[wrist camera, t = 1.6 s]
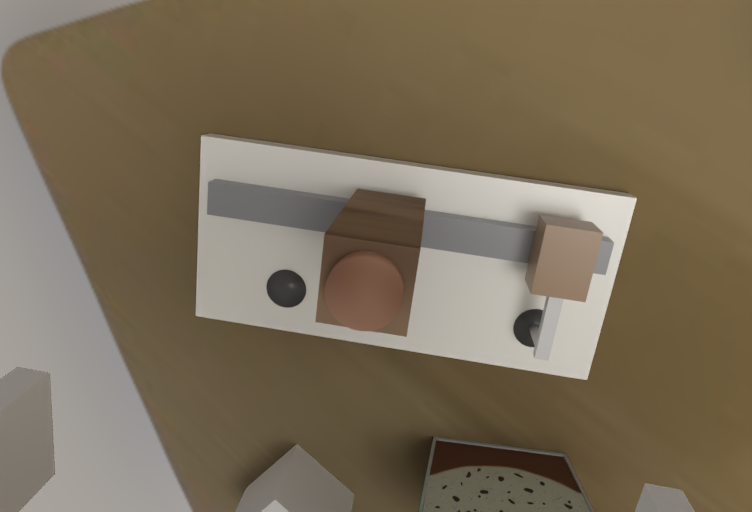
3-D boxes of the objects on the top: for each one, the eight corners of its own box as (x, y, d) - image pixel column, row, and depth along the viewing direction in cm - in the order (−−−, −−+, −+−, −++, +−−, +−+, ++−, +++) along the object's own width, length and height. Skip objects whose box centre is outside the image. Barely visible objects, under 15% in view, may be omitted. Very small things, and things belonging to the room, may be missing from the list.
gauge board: (581, 368, 38) (602, 411, 33) (204, 307, 40) (171, 339, 35) (628, 193, 34) (659, 212, 30) (210, 133, 36) (174, 142, 31)
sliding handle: (407, 316, 36) (392, 429, 25) (345, 307, 37) (302, 413, 25) (426, 194, 34) (419, 256, 22) (360, 184, 34) (319, 240, 23)
